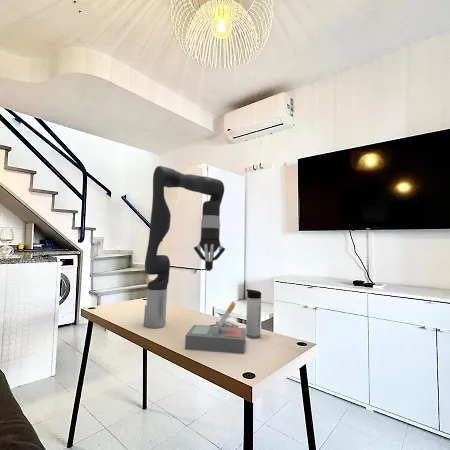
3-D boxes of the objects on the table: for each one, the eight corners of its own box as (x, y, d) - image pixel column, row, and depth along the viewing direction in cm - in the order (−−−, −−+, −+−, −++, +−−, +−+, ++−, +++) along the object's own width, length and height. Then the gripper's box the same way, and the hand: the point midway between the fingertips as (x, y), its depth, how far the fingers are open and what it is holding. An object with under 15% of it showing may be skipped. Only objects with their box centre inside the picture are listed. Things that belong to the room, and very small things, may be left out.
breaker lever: (215, 327, 109) (231, 304, 109) (217, 323, 115) (232, 301, 115) (218, 330, 109) (234, 306, 109) (220, 325, 115) (235, 303, 115)
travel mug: (244, 333, 126) (245, 288, 127) (258, 333, 127) (259, 288, 128) (246, 338, 120) (247, 290, 121) (261, 338, 121) (262, 291, 122)
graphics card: (223, 319, 138) (239, 324, 128) (223, 327, 138) (239, 333, 128) (193, 324, 128) (208, 331, 118) (193, 333, 128) (208, 340, 118)
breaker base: (185, 348, 106) (186, 327, 106) (193, 336, 120) (194, 317, 120) (243, 353, 103) (244, 331, 104) (245, 340, 117) (245, 320, 118)
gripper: (192, 226, 110) (190, 270, 109) (225, 227, 109) (224, 272, 108) (196, 227, 118) (194, 269, 117) (227, 228, 116) (226, 270, 115)
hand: (208, 270), depth 112 cm, fingers closed
